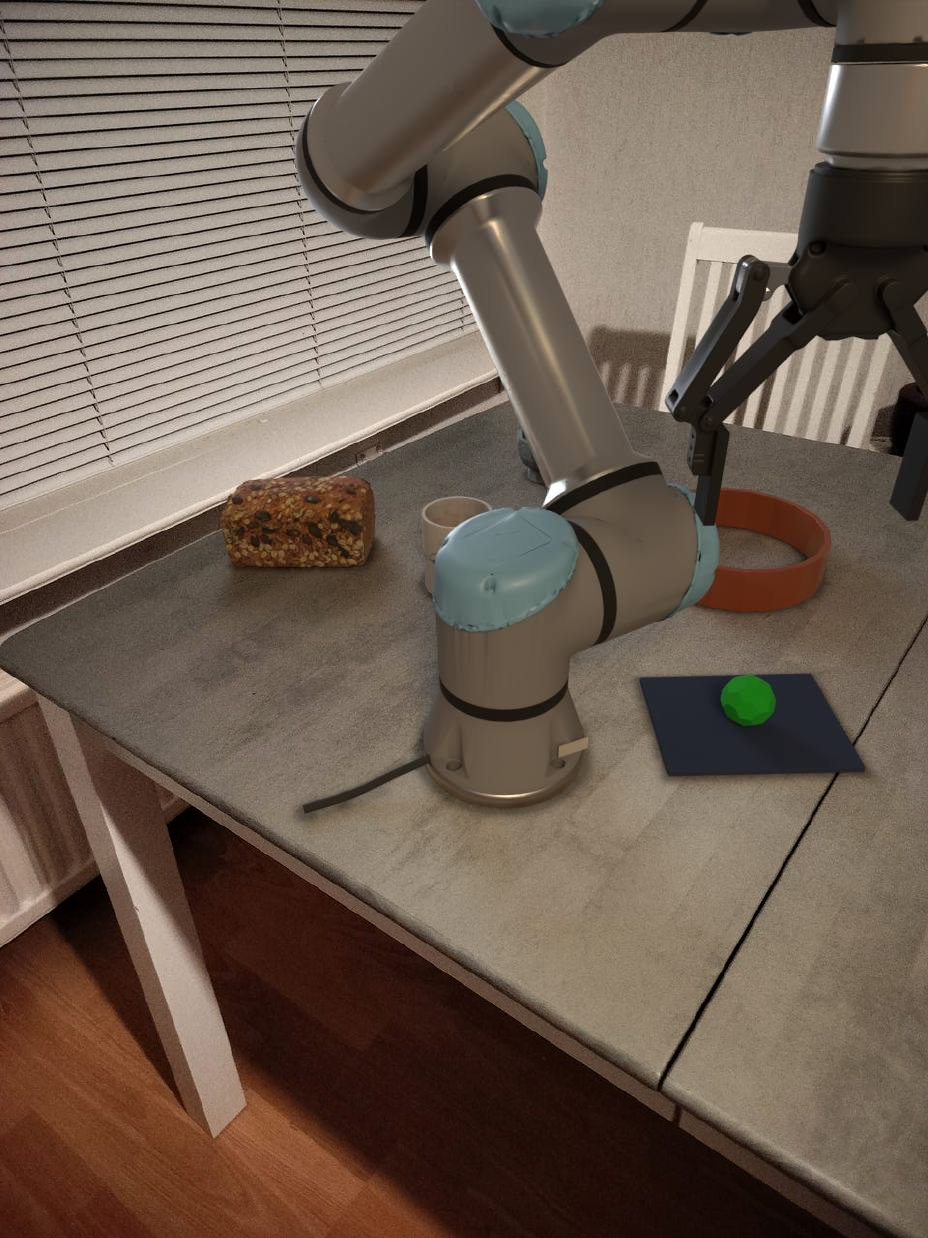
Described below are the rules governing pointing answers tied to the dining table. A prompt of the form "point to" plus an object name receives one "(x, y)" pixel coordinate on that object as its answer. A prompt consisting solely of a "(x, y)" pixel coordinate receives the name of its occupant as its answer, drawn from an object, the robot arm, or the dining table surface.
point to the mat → (747, 729)
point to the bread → (300, 522)
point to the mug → (445, 526)
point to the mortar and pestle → (528, 458)
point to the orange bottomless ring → (769, 584)
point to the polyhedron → (748, 700)
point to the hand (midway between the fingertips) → (803, 514)
